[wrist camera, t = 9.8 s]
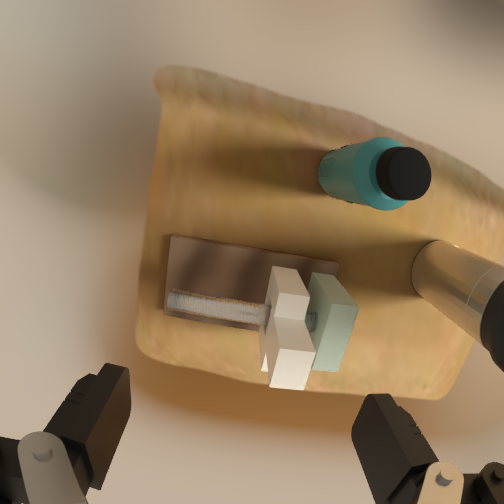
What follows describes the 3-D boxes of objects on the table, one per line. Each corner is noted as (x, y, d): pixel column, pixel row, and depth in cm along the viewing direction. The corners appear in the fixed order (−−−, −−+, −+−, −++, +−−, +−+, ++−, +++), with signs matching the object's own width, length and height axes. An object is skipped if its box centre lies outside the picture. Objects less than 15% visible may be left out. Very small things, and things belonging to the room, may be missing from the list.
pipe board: (336, 262, 42) (340, 265, 40) (317, 334, 44) (319, 338, 43) (173, 234, 41) (171, 236, 39) (165, 310, 43) (163, 314, 42)
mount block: (333, 275, 41) (359, 306, 30) (319, 329, 42) (337, 371, 32) (312, 271, 40) (332, 303, 30) (298, 326, 42) (312, 369, 32)
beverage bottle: (334, 209, 40) (405, 240, 21) (302, 169, 39) (352, 164, 19) (370, 178, 39) (460, 185, 20) (339, 138, 38) (415, 112, 18)
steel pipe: (327, 306, 36) (333, 317, 33) (321, 328, 37) (326, 340, 34) (173, 282, 35) (167, 291, 32) (171, 305, 36) (165, 315, 33)
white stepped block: (296, 269, 38) (323, 325, 24) (281, 334, 40) (296, 410, 26) (272, 265, 38) (286, 320, 23) (258, 331, 40) (263, 407, 26)
